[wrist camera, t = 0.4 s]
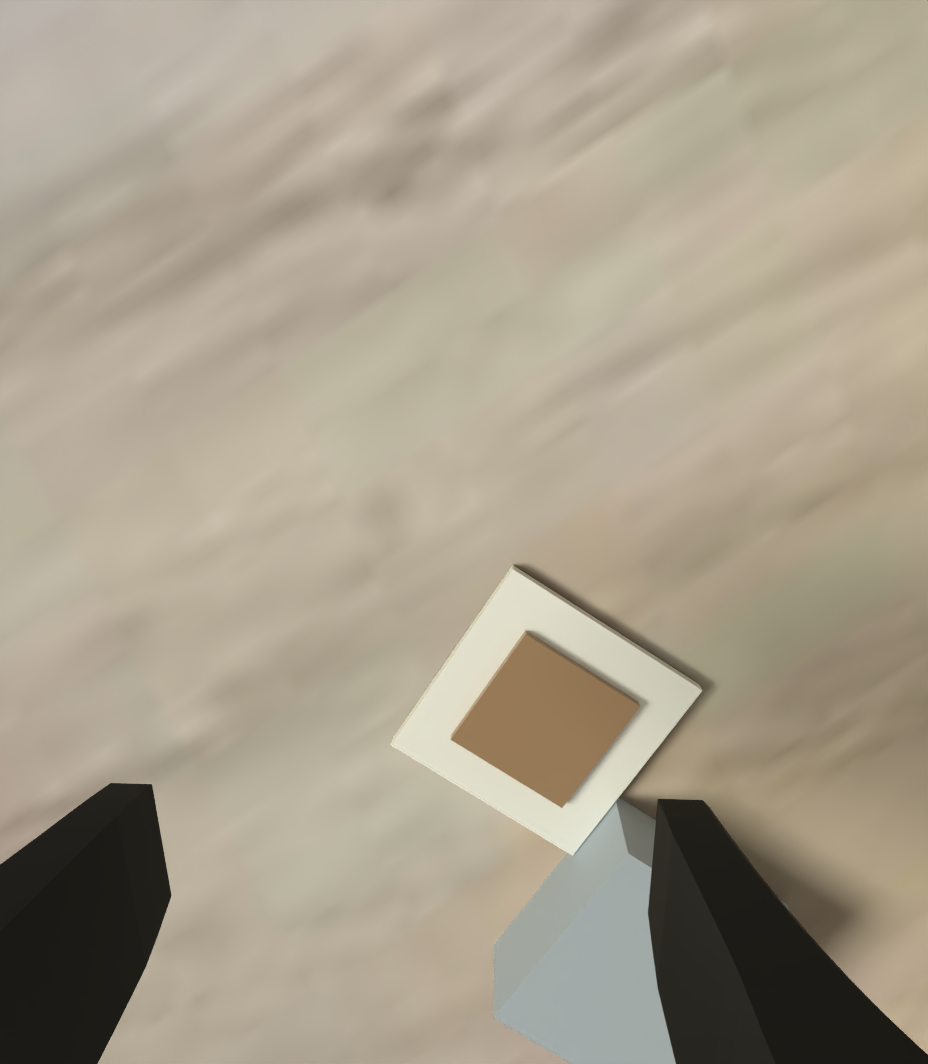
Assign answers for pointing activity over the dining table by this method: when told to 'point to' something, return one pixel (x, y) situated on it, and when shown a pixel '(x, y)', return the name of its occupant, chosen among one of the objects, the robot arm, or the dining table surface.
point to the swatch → (544, 712)
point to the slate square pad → (588, 953)
